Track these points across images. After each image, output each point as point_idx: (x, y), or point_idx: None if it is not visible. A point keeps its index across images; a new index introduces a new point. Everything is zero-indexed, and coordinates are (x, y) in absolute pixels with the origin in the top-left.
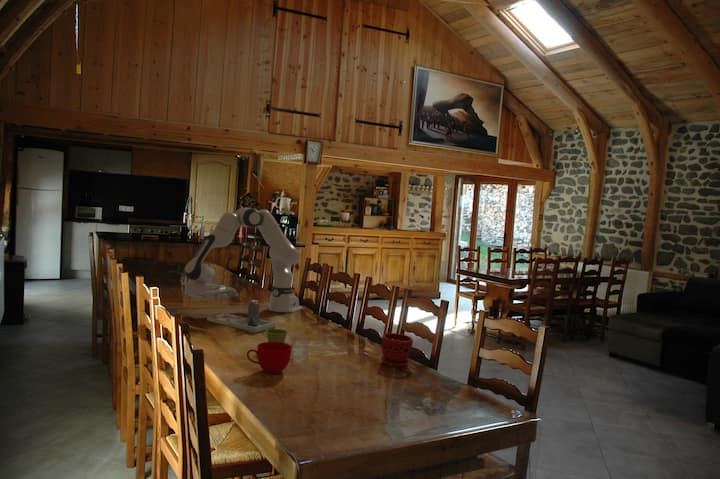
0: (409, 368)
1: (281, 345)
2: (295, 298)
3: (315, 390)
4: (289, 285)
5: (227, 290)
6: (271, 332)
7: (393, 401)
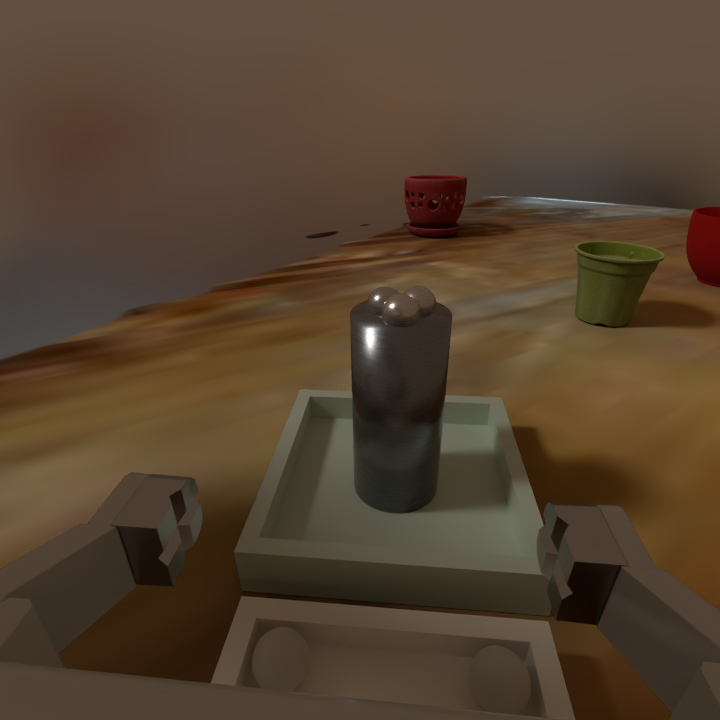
0: None
1: (704, 223)
2: None
3: None
4: None
5: (113, 694)
6: (616, 270)
7: (595, 219)
